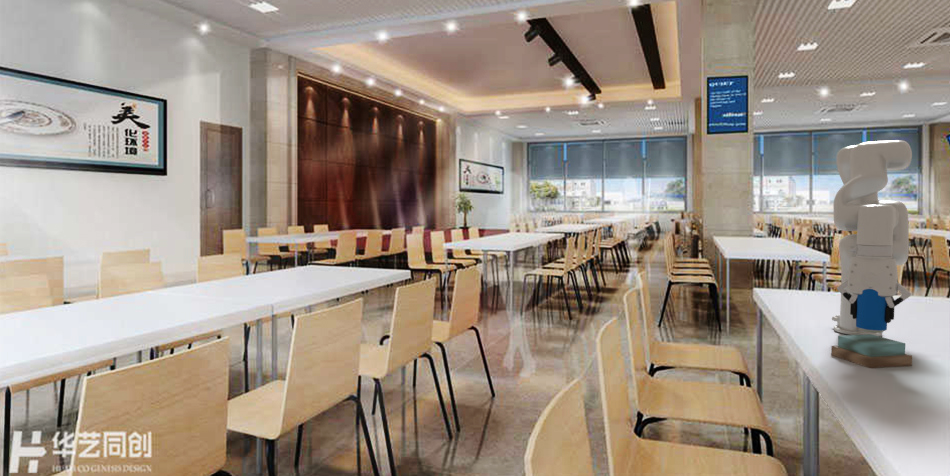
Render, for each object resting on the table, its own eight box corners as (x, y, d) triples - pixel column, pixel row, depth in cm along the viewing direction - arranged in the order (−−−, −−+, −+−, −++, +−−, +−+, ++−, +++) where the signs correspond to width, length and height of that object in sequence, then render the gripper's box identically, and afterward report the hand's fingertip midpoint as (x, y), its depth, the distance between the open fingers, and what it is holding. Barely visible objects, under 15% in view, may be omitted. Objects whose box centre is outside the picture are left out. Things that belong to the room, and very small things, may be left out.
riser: (831, 354, 144) (831, 335, 144) (869, 352, 146) (870, 333, 145) (870, 368, 132) (871, 346, 132) (911, 365, 134) (912, 344, 134)
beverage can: (892, 334, 135) (893, 287, 134) (863, 333, 136) (865, 287, 135) (878, 328, 141) (879, 283, 140) (851, 327, 142) (852, 283, 142)
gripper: (831, 251, 141) (828, 317, 142) (914, 255, 128) (911, 327, 129) (838, 249, 146) (836, 313, 147) (919, 253, 134) (916, 323, 135)
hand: (871, 319), depth 138 cm, fingers closed on beverage can, 6 cm apart
